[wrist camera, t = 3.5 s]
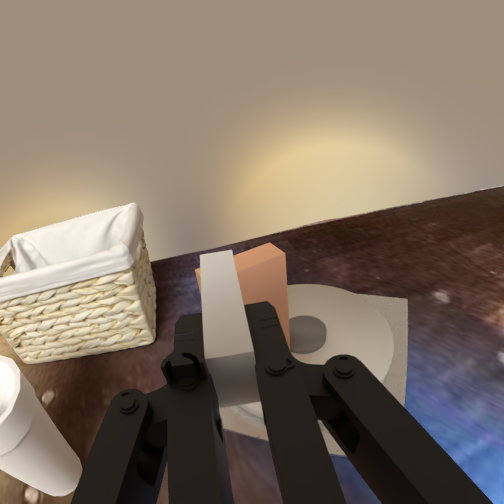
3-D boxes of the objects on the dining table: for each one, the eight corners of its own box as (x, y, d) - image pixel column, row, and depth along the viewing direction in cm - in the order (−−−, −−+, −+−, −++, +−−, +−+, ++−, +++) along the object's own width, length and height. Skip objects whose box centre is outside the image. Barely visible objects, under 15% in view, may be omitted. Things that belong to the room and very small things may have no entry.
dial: (318, 278, 47) (317, 187, 40) (424, 356, 31) (455, 246, 24) (190, 334, 39) (162, 234, 33) (273, 461, 24) (258, 361, 17)
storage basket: (16, 371, 35) (-35, 288, 28) (42, 306, 49) (10, 234, 42) (165, 350, 38) (128, 247, 31) (163, 282, 52) (141, 198, 45)
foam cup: (24, 507, 17) (-66, 439, 11) (27, 439, 25) (-41, 362, 19) (99, 507, 20) (11, 440, 13) (93, 432, 27) (30, 348, 21)
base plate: (406, 301, 41) (408, 293, 40) (396, 463, 22) (400, 457, 21) (245, 282, 50) (244, 275, 49) (161, 408, 30) (157, 400, 30)
